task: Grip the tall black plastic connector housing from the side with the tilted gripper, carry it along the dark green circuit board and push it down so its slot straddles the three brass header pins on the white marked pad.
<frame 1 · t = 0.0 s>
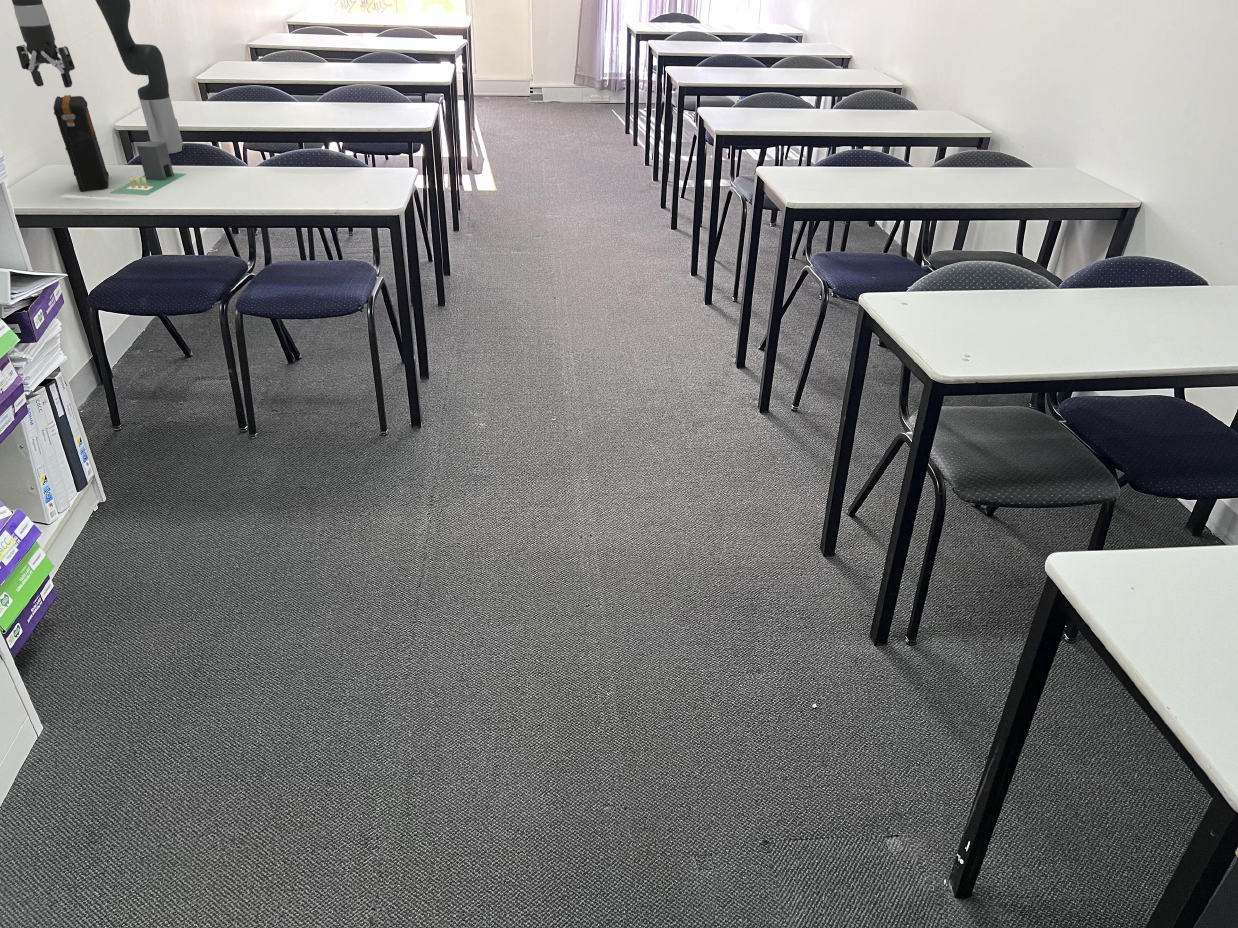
hand: (54, 86, 252), 29 cm above the table, tool pointing down, fingers open, 8 cm apart
plug housing: (160, 177, 277), point 1 cm above the table, touching header board
header board: (150, 186, 272), on the table
black bag: (94, 187, 271), on the table
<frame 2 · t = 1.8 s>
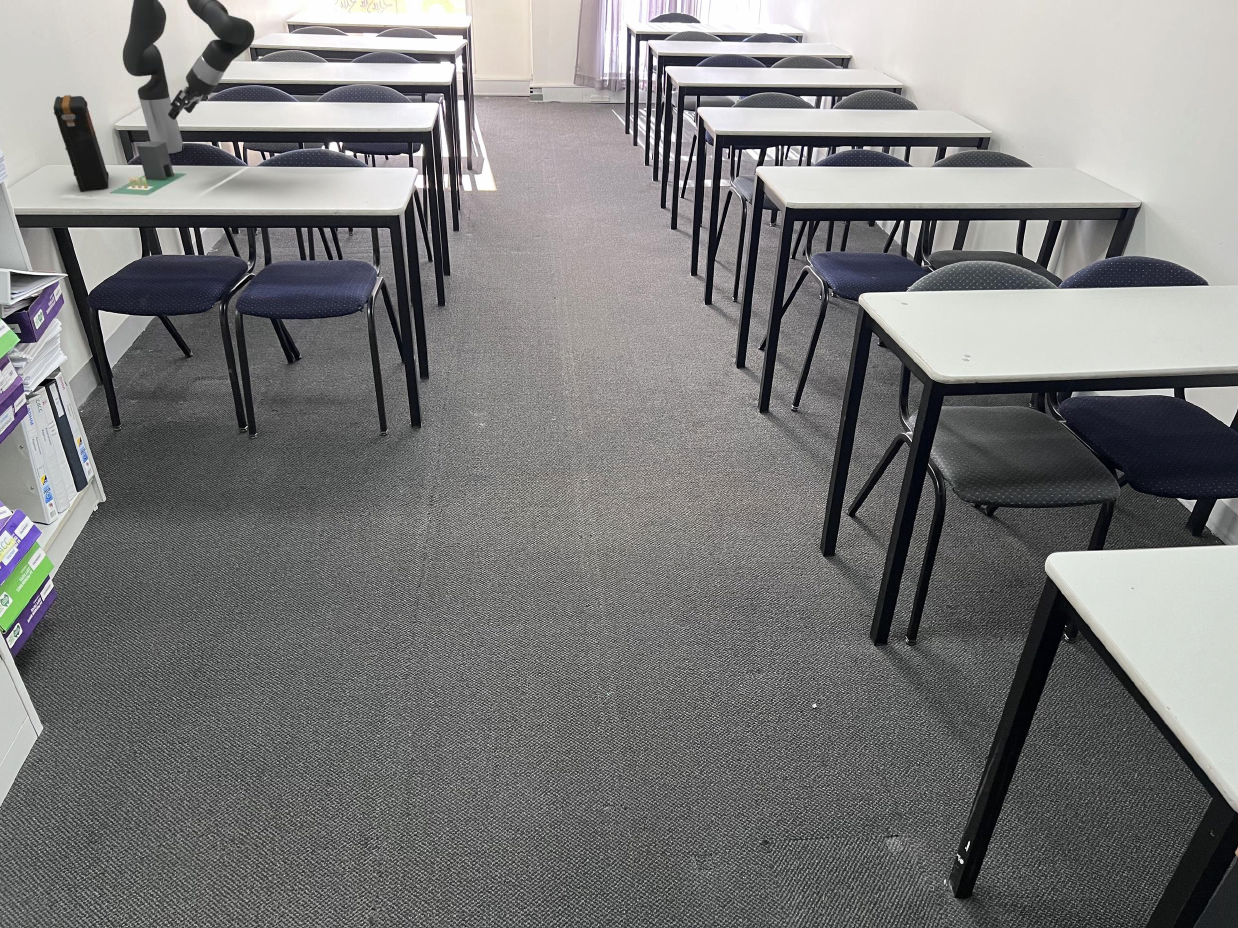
hand: (179, 114, 265), 20 cm above the table, tool tilted 45°, fingers open, 8 cm apart
nothing on the table moved.
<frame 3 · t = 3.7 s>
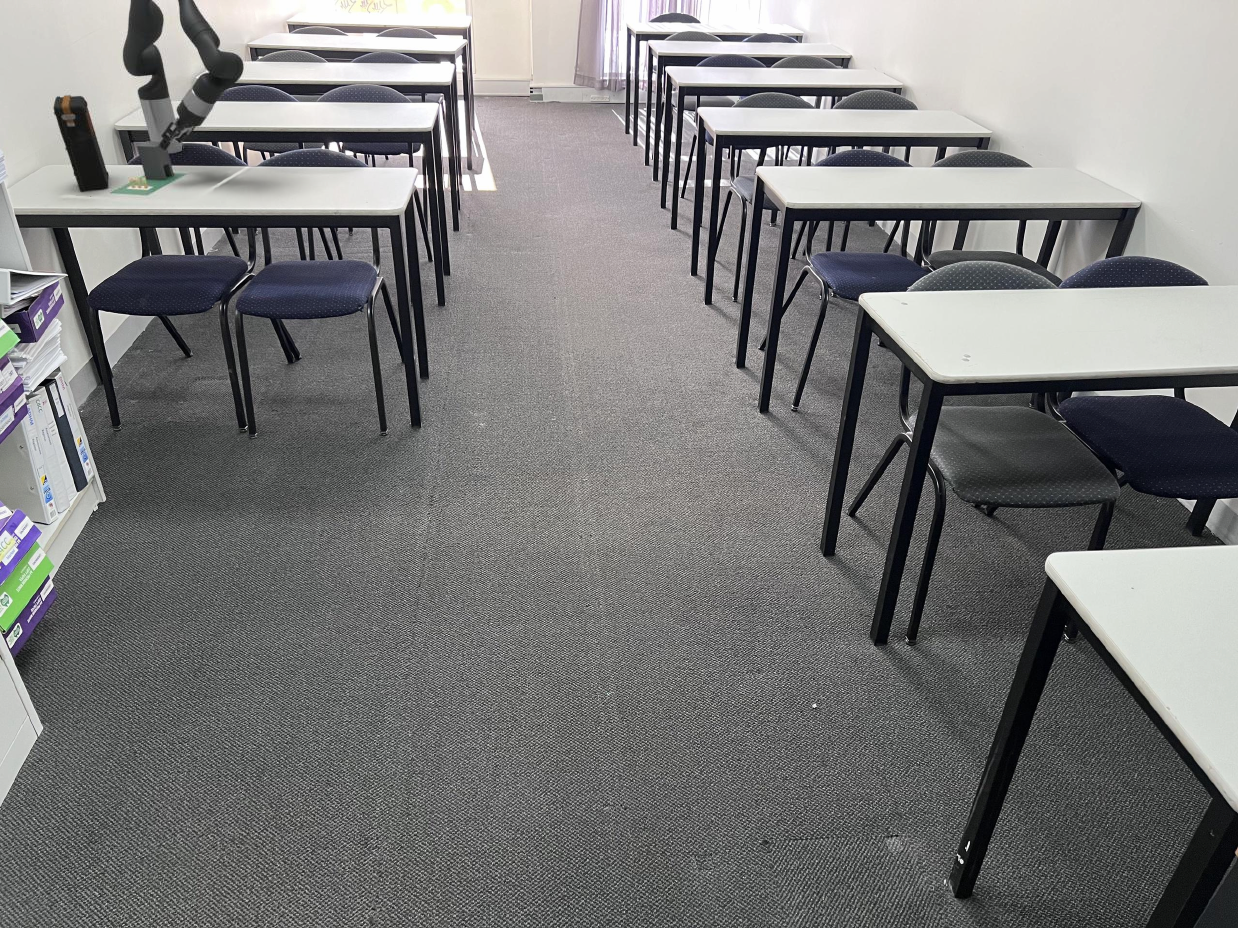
hand: (169, 144, 271), 11 cm above the table, tool tilted 45°, fingers open, 8 cm apart
nothing on the table moved.
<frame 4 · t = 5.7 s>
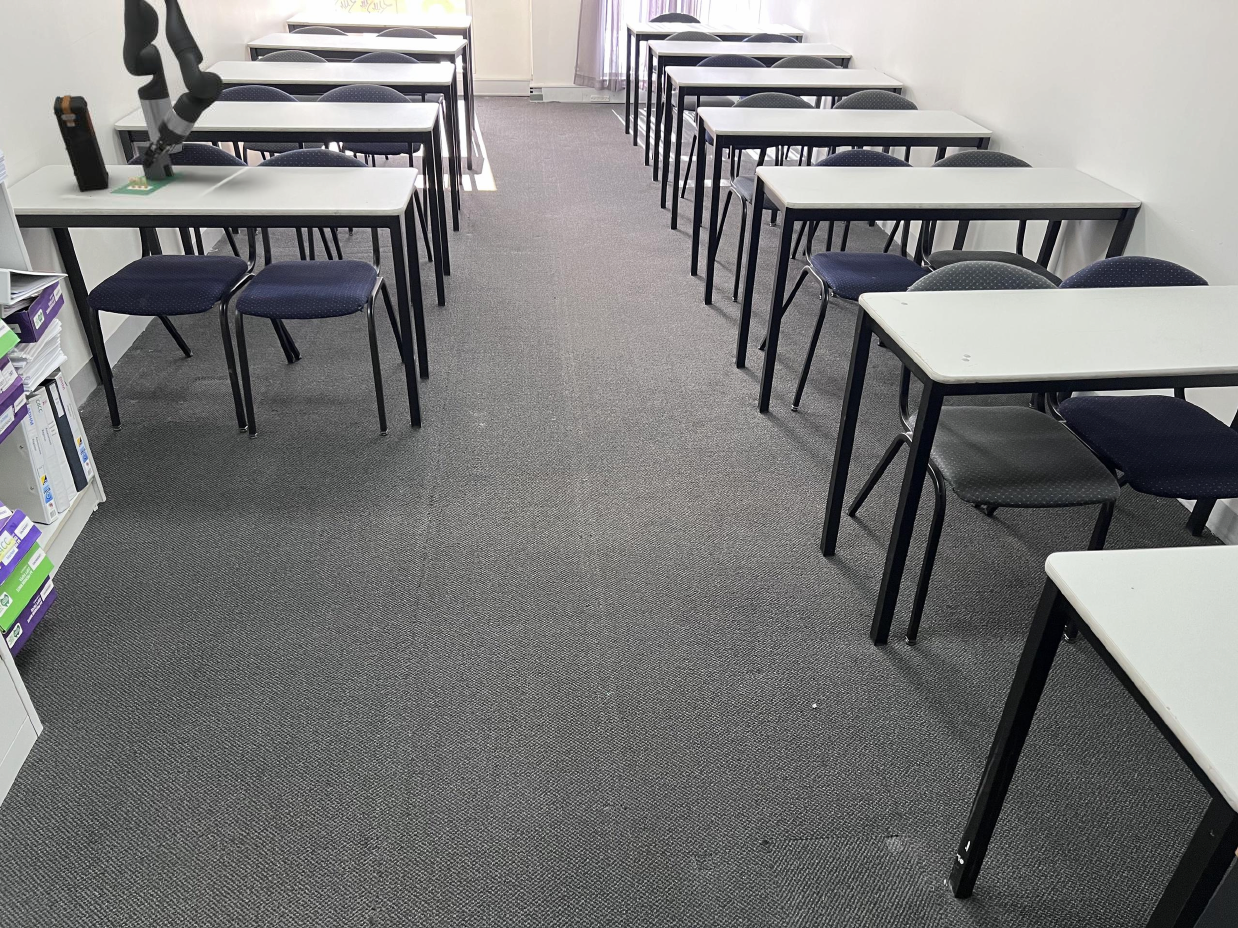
hand: (151, 163, 275), 5 cm above the table, tool tilted 45°, fingers closed on plug housing, 5 cm apart
plug housing: (160, 177, 277), point 1 cm above the table, touching gripper, header board
everything else where it was.
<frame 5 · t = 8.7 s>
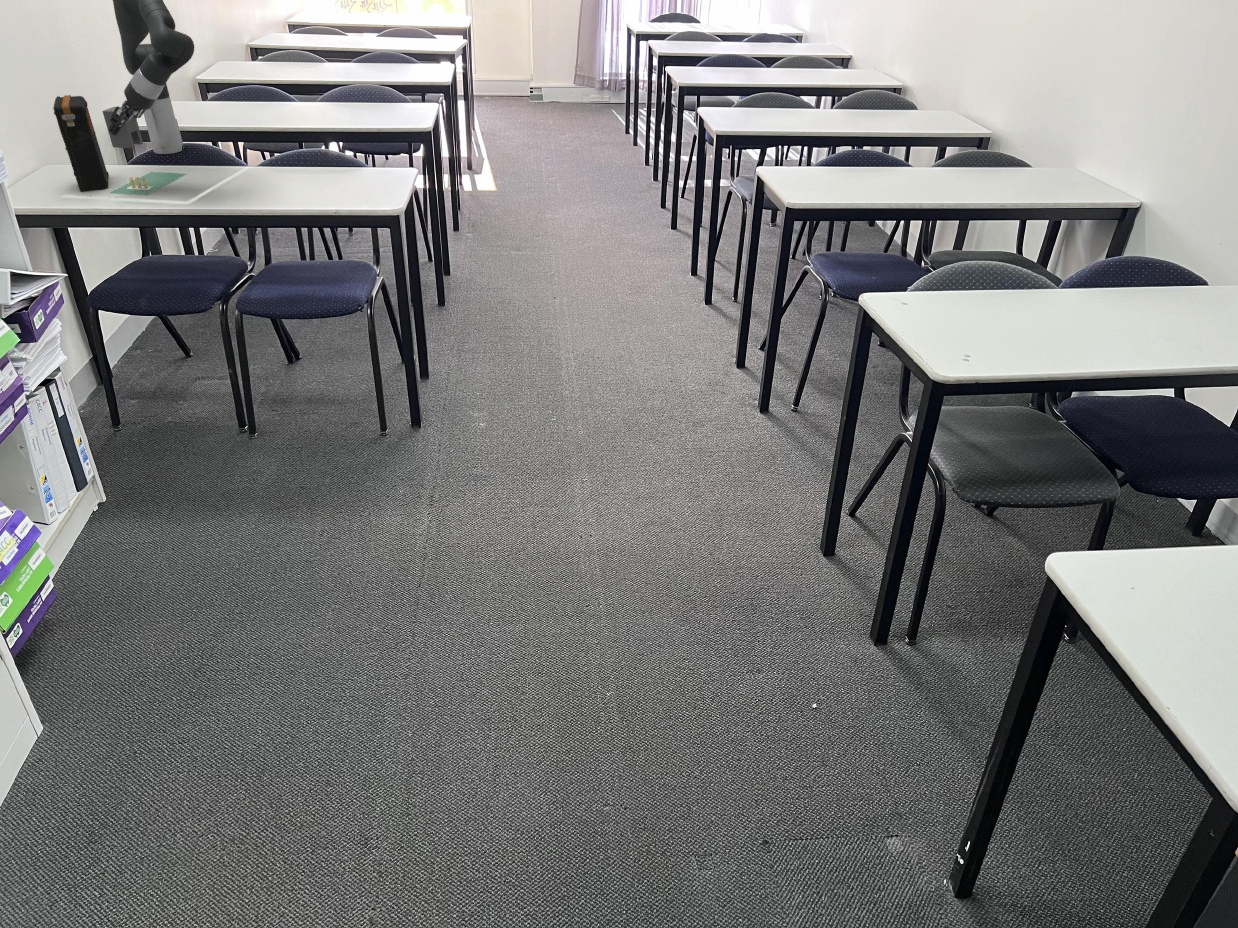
hand: (118, 130, 259), 18 cm above the table, tool tilted 45°, fingers closed on plug housing, 5 cm apart
plug housing: (128, 145, 261), point 13 cm above the table, touching gripper
everything else where it was.
when the fingers open (5 cm above the table, at t = 11.3 s): plug housing stays where it is, resting on header board.
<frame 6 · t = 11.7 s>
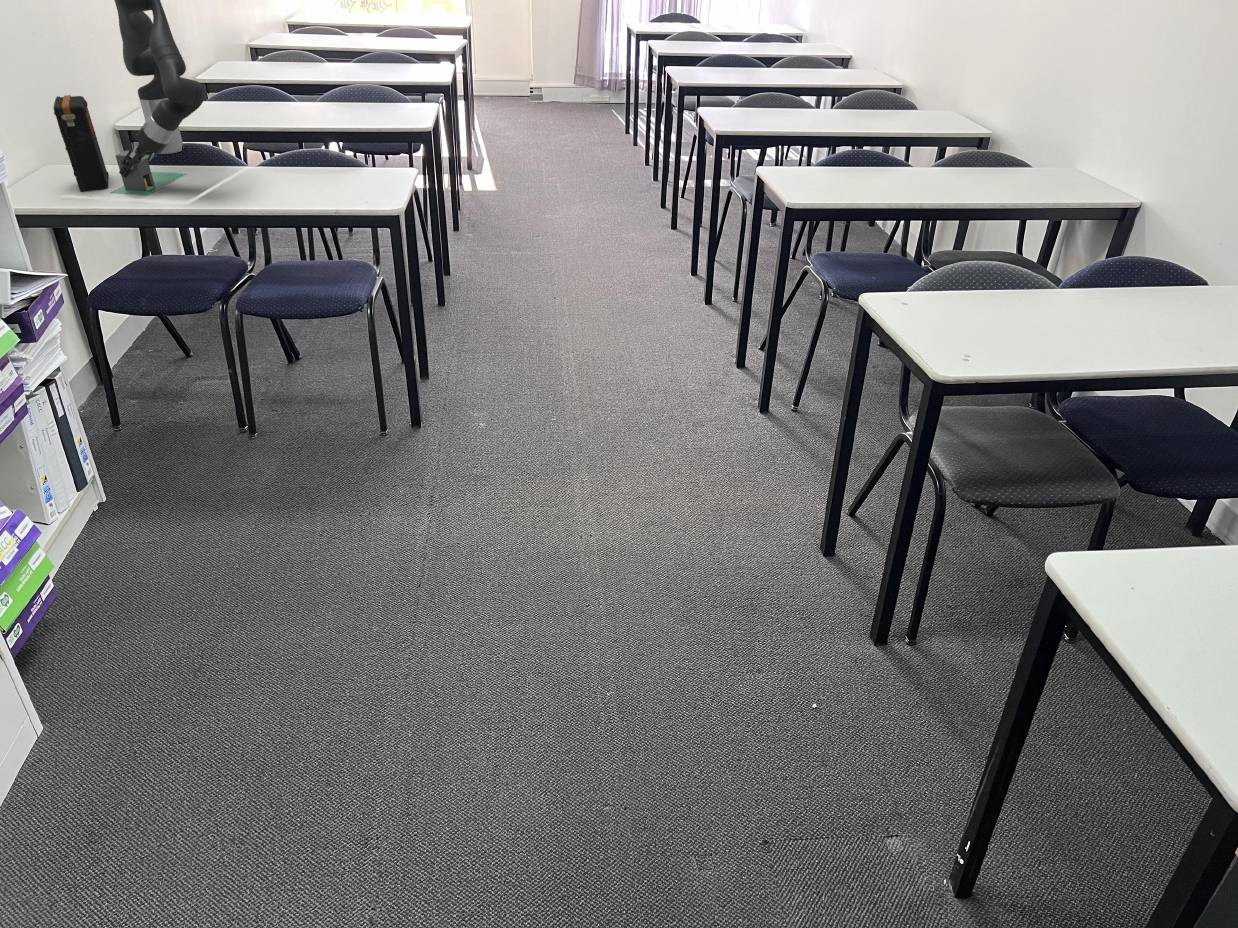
hand: (130, 171, 265), 6 cm above the table, tool tilted 45°, fingers open, 8 cm apart
plug housing: (140, 187, 268), point 1 cm above the table, touching header board
everything else where it was.
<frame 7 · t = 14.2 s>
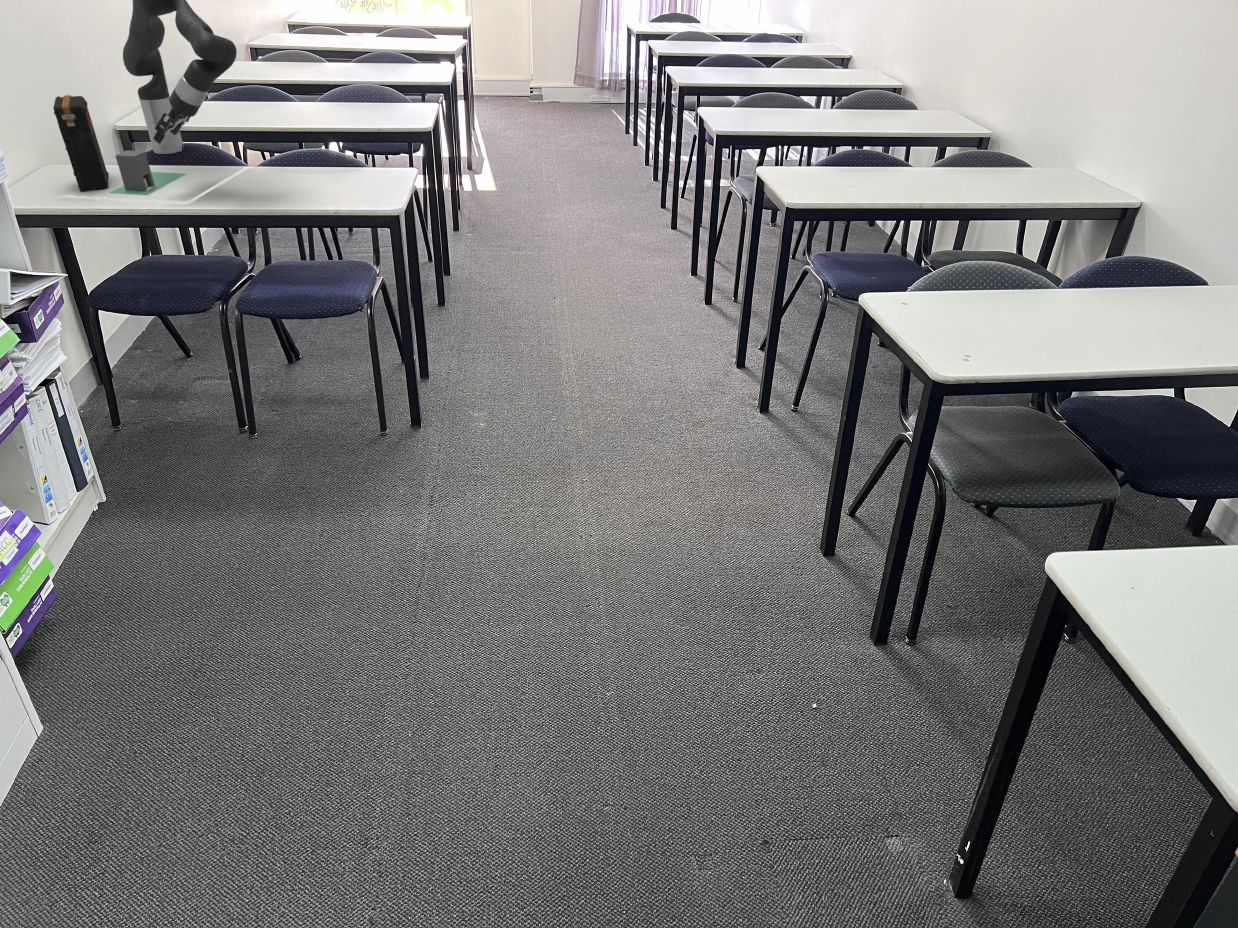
hand: (164, 137, 259), 16 cm above the table, tool tilted 40°, fingers open, 8 cm apart
nothing on the table moved.
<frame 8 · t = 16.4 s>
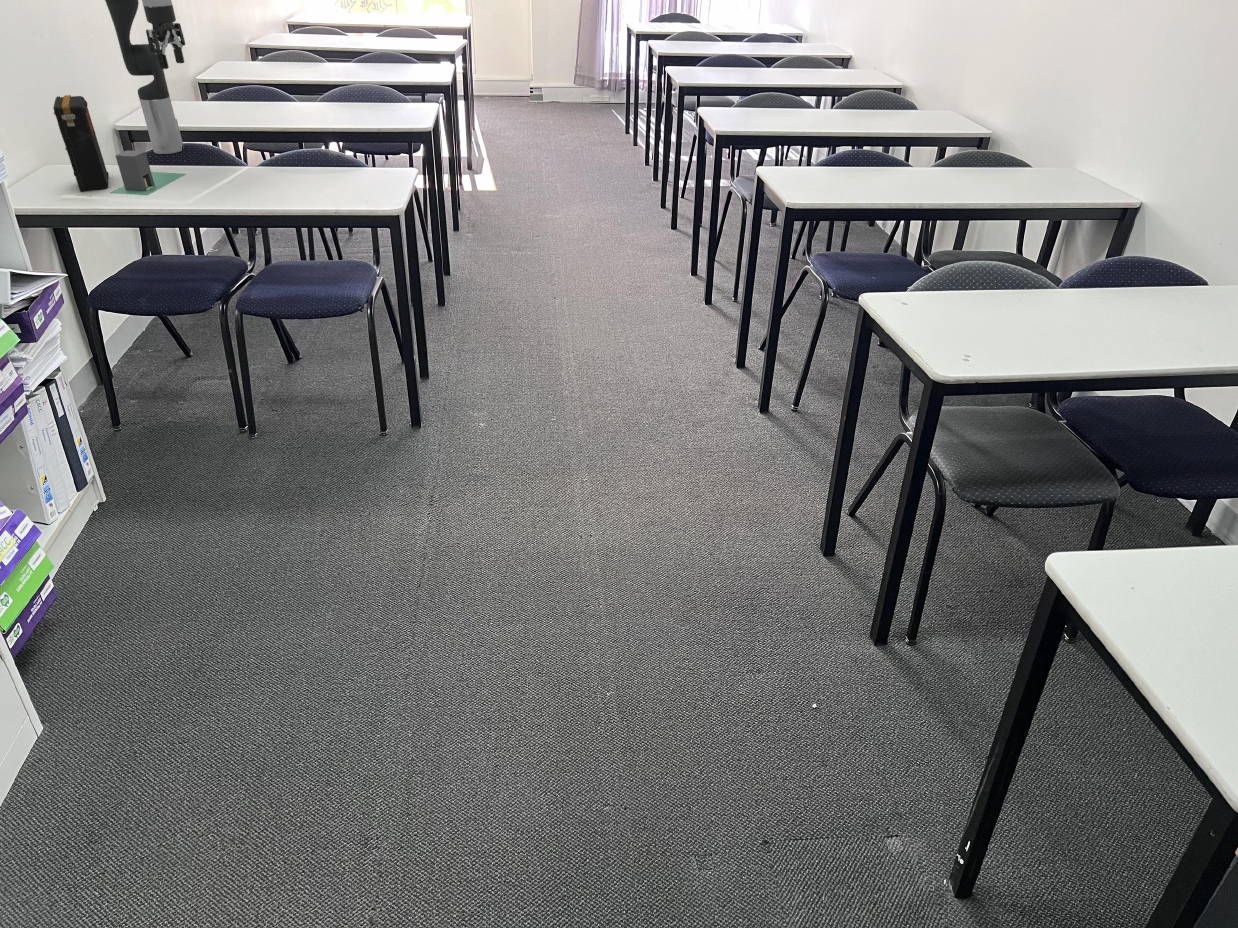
hand: (172, 66, 259), 33 cm above the table, tool pointing down, fingers open, 8 cm apart
nothing on the table moved.
at the end: plug housing 0.1 cm from the target spot on the header board, point 1.1 cm above the header board's base; plug housing tilted 0°; the gripper is holding nothing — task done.
